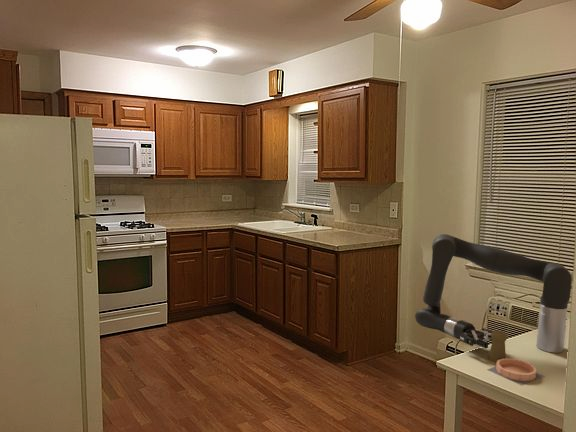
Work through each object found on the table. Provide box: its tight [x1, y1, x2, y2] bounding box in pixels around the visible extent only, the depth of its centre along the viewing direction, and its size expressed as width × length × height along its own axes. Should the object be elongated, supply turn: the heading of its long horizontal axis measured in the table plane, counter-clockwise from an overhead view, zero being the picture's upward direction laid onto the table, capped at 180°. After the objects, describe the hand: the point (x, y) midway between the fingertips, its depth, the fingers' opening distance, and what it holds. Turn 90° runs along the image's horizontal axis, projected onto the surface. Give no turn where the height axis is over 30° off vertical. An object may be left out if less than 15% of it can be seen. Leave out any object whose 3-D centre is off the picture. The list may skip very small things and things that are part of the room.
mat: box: [486, 366, 546, 386], centre depth 164 cm, size 13×13×1 cm
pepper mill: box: [488, 330, 508, 364], centre depth 174 cm, size 6×6×11 cm
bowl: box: [495, 358, 537, 382], centre depth 164 cm, size 12×12×2 cm
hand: (495, 343), depth 175 cm, fingers open, 8 cm apart
